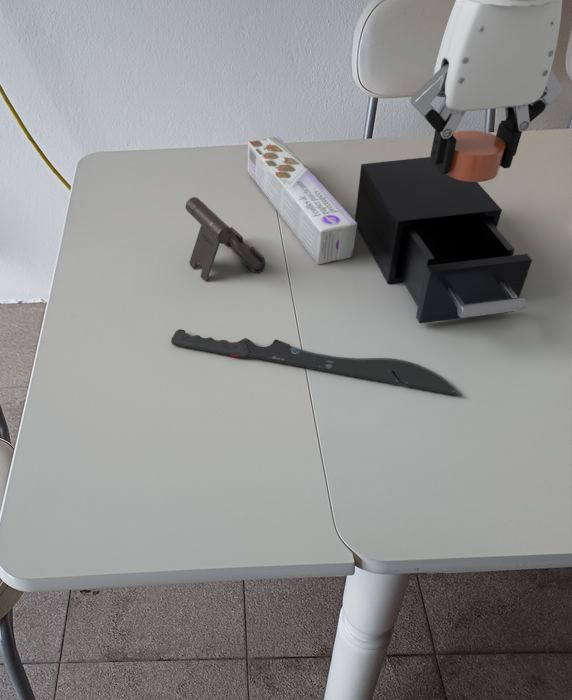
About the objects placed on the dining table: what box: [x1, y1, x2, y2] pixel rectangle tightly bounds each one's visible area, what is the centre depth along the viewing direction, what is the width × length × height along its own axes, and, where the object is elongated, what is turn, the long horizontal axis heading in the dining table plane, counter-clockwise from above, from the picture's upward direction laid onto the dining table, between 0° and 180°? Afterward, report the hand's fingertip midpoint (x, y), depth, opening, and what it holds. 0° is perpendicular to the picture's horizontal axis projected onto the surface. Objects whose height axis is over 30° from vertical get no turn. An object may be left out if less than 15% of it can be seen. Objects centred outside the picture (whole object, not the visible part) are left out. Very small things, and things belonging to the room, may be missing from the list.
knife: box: [170, 328, 462, 396], centre depth 71 cm, size 32×4×1 cm, turn 72°
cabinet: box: [354, 156, 503, 285], centre depth 84 cm, size 15×13×9 cm
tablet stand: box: [185, 196, 266, 282], centre depth 83 cm, size 9×8×8 cm
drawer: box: [396, 217, 533, 324], centre depth 75 cm, size 18×11×7 cm, turn 8°
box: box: [247, 136, 358, 265], centre depth 93 cm, size 27×5×6 cm, turn 18°
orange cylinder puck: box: [446, 130, 506, 183], centre depth 69 cm, size 6×6×3 cm
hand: (470, 164), depth 69 cm, fingers closed on orange cylinder puck, 6 cm apart
